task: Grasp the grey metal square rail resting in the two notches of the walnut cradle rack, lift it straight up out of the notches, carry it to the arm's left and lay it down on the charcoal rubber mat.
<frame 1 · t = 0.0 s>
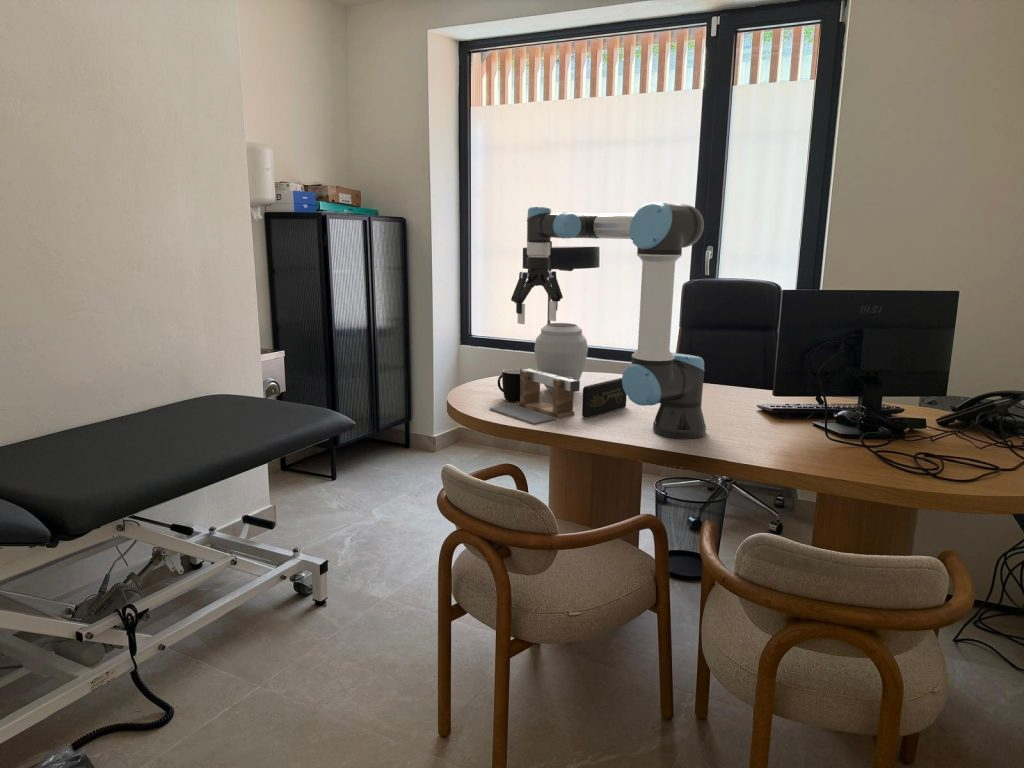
hand: (537, 322, 227), 28 cm above the table, fingers open, 13 cm apart
vase: (559, 391, 254), on the table
rail: (548, 383, 224), point 9 cm above the table, touching rack
mat: (522, 414, 220), on the table
nameplate: (604, 413, 225), on the table
rack: (545, 410, 226), on the table
mug: (511, 400, 240), on the table
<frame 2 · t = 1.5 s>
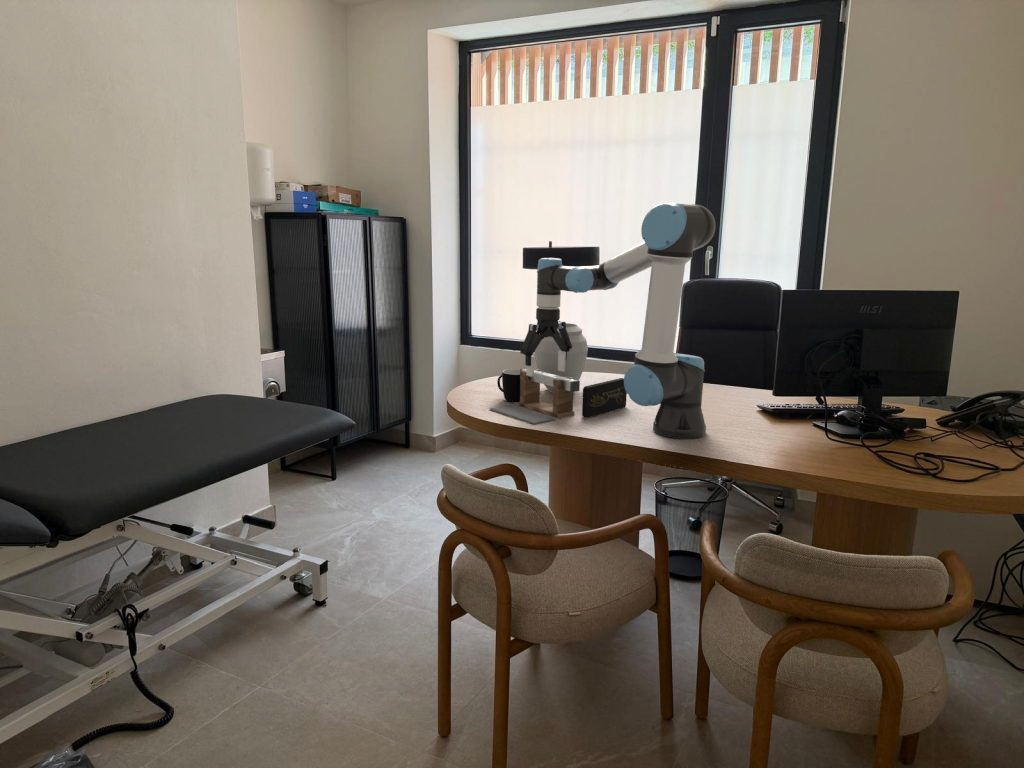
hand: (545, 373, 224), 12 cm above the table, fingers open, 13 cm apart
nothing on the table moved.
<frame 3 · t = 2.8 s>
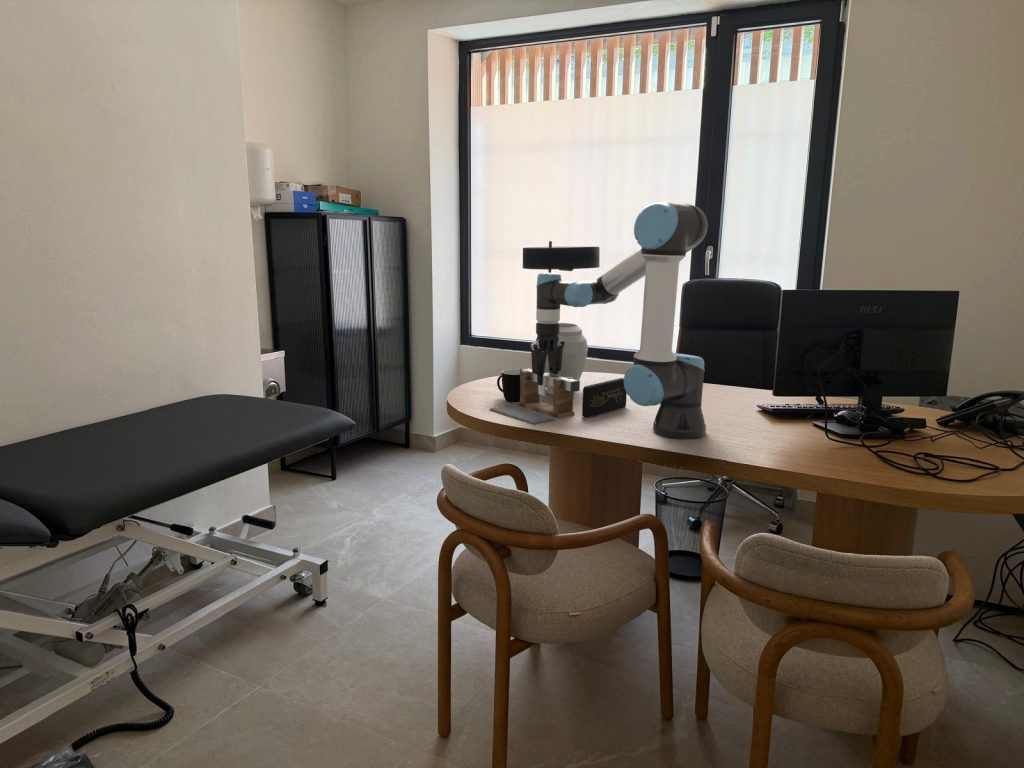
hand: (546, 393, 225), 6 cm above the table, fingers closed on rail, 3 cm apart
rail: (548, 383, 224), point 9 cm above the table, touching gripper, rack
everything else where it was.
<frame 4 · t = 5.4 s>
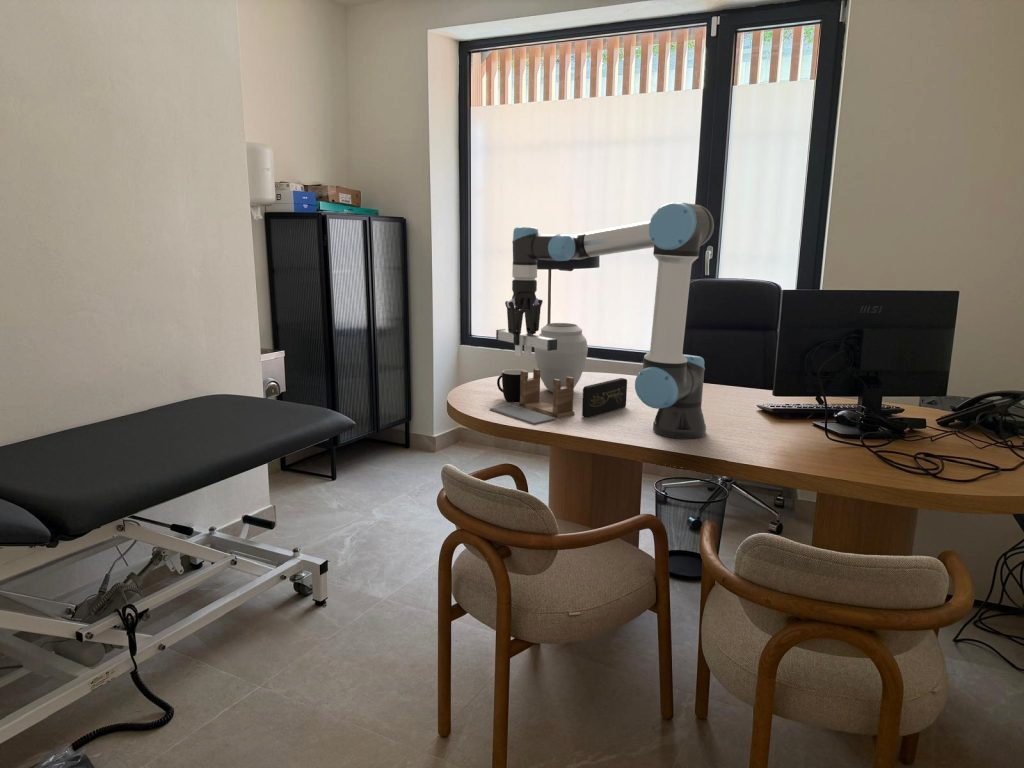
hand: (523, 354, 216), 19 cm above the table, fingers closed on rail, 3 cm apart
rail: (525, 344, 215), point 23 cm above the table, touching gripper
everything else where it was.
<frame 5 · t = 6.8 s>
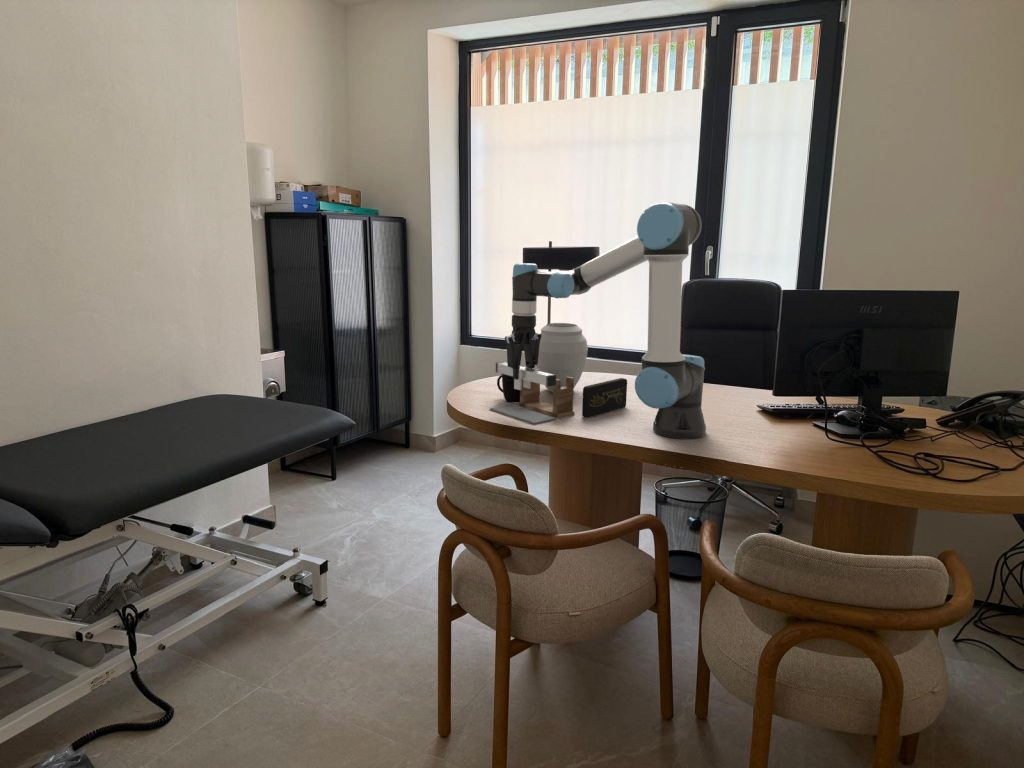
hand: (522, 388, 218), 9 cm above the table, fingers closed on rail, 3 cm apart
rail: (524, 378, 217), point 12 cm above the table, touching gripper
everything else where it was.
when the fingers open (2 cm above the table, at t = 8.1 s): rail drops 5 cm, resting on mat.
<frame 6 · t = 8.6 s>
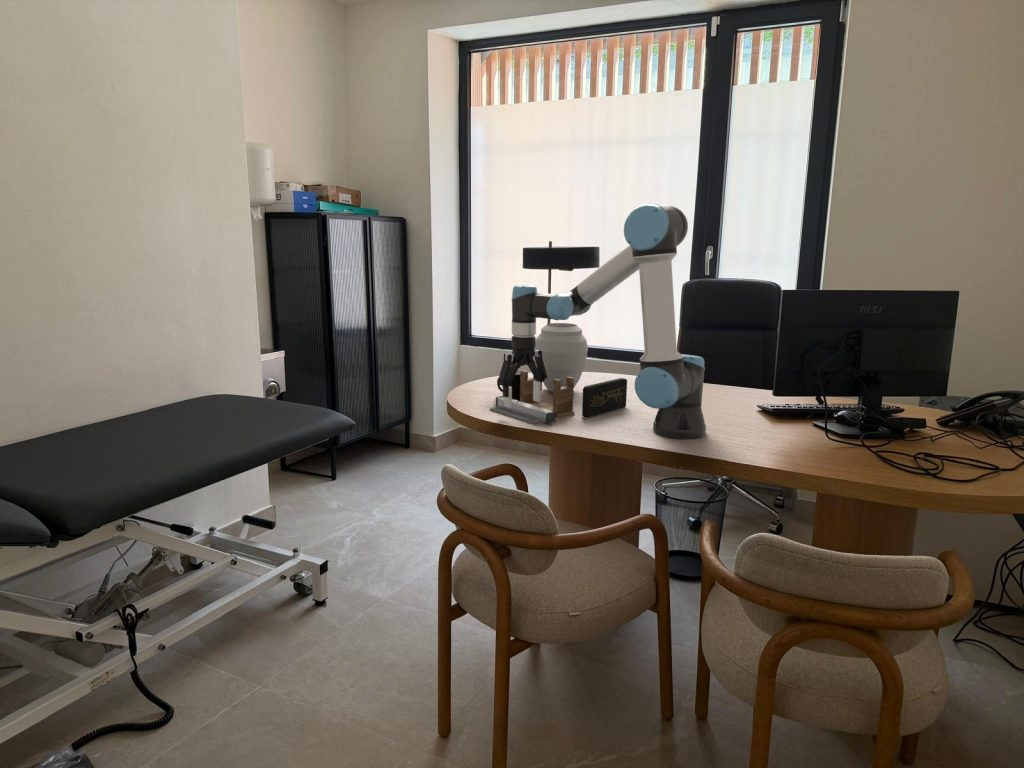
hand: (522, 404, 219), 4 cm above the table, fingers open, 11 cm apart
rail: (524, 413, 219), point 1 cm above the table, touching mat
everything else where it was.
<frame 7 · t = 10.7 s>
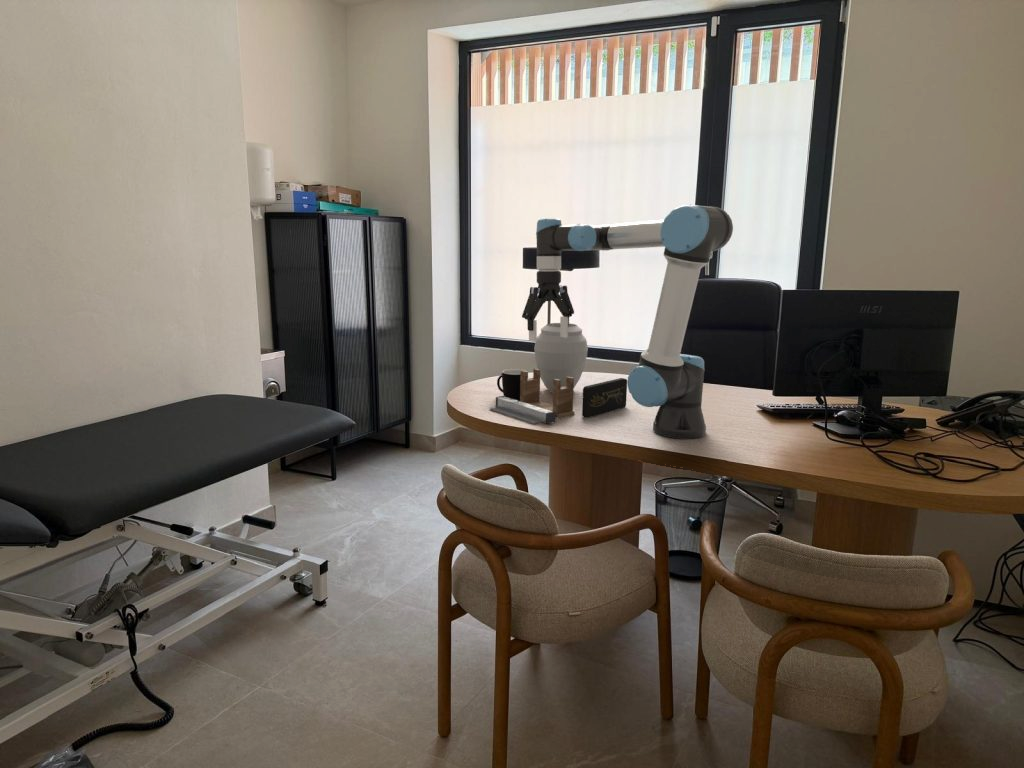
hand: (548, 339, 217), 24 cm above the table, fingers open, 13 cm apart
nothing on the table moved.
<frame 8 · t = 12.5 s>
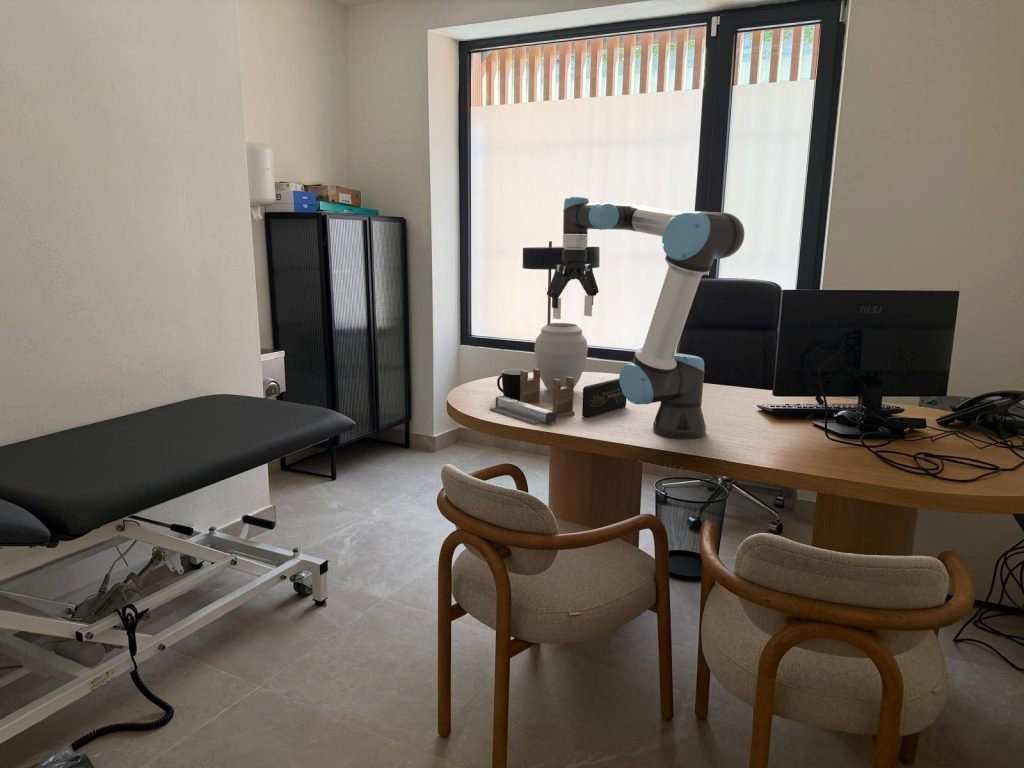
hand: (572, 317, 218), 31 cm above the table, fingers open, 13 cm apart
nothing on the table moved.
at the end: rail inside the target area on the mat (1.0 cm from its centre), point 0.6 cm above the mat's base; rail touching mat; the gripper is holding nothing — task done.
